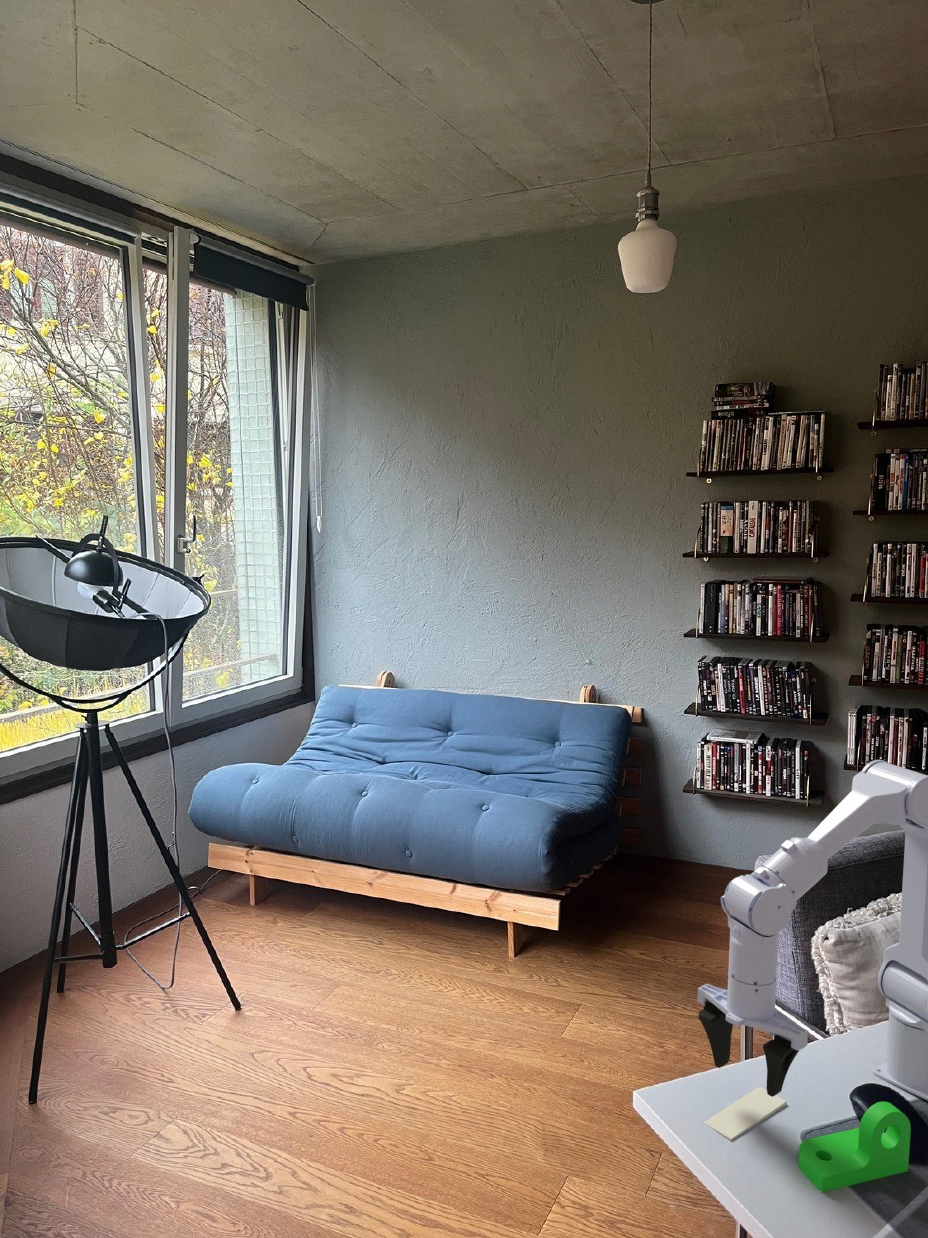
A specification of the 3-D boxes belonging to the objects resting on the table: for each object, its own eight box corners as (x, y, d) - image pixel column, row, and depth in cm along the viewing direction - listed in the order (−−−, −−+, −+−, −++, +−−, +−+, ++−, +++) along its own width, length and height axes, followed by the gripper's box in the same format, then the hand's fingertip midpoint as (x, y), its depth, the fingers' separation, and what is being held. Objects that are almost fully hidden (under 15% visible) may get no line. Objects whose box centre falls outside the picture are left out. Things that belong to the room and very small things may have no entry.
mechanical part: (870, 1140, 115) (874, 1078, 114) (907, 1173, 109) (912, 1108, 108) (787, 1159, 111) (790, 1095, 110) (821, 1194, 105) (825, 1127, 104)
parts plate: (759, 1092, 124) (759, 1086, 123) (786, 1107, 120) (786, 1101, 120) (703, 1128, 116) (703, 1122, 116) (730, 1145, 113) (730, 1139, 113)
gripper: (684, 962, 119) (680, 1063, 121) (786, 1008, 108) (781, 1119, 110) (718, 946, 124) (713, 1044, 125) (819, 990, 113) (813, 1096, 114)
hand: (747, 1078), depth 118 cm, fingers open, 7 cm apart
